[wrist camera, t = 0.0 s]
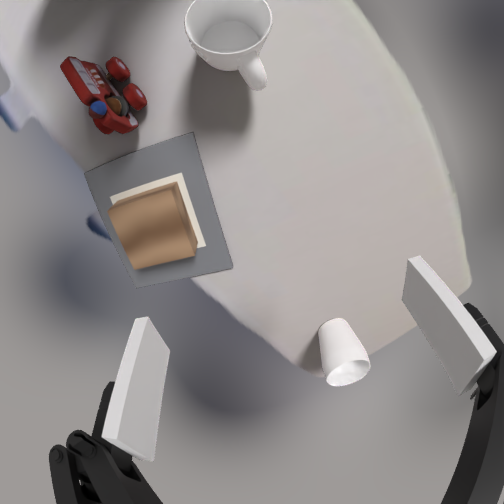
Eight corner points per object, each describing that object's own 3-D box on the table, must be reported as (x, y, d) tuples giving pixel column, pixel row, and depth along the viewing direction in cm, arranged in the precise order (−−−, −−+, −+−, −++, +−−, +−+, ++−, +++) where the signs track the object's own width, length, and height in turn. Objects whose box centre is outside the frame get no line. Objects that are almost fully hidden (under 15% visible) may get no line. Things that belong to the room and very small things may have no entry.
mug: (228, 106, 32) (225, 106, 22) (187, 37, 26) (167, 10, 16) (284, 81, 30) (307, 70, 20) (244, 11, 25) (248, -25, 14)
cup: (353, 335, 56) (370, 377, 46) (315, 346, 57) (327, 391, 47) (352, 308, 52) (372, 353, 41) (309, 320, 52) (323, 368, 42)
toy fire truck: (120, 142, 33) (85, 158, 24) (82, 81, 27) (40, 81, 18) (158, 114, 32) (131, 119, 23) (117, 50, 26) (81, 38, 17)
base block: (117, 200, 37) (106, 211, 33) (177, 181, 36) (171, 189, 33) (141, 256, 42) (134, 269, 38) (198, 242, 41) (194, 255, 38)
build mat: (85, 172, 35) (83, 173, 34) (193, 132, 33) (192, 132, 33) (137, 286, 46) (136, 288, 45) (233, 265, 45) (233, 268, 44)
